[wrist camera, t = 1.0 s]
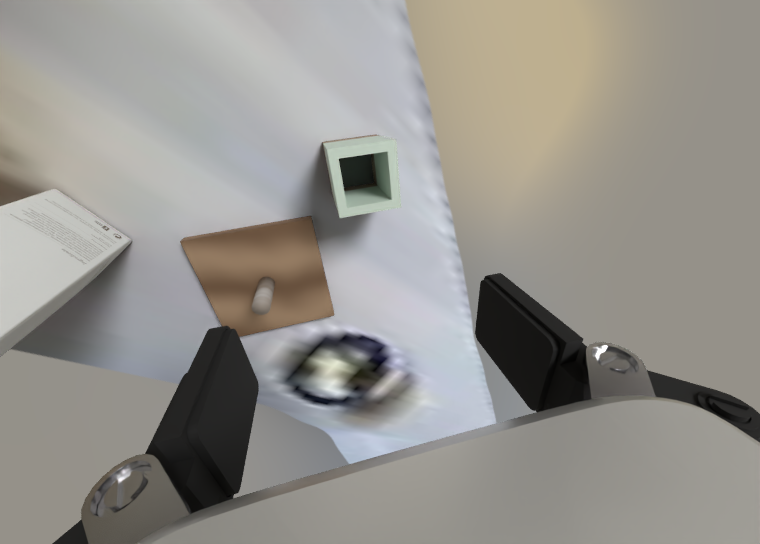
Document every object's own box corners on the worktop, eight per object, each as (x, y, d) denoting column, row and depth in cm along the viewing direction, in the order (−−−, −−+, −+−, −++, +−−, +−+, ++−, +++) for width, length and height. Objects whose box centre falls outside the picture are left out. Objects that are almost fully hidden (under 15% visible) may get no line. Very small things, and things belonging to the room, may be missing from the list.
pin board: (184, 237, 27) (158, 263, 22) (311, 215, 29) (311, 235, 24) (230, 333, 33) (218, 369, 28) (333, 310, 35) (337, 340, 30)
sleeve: (322, 142, 26) (326, 149, 20) (375, 134, 26) (396, 139, 20) (332, 196, 28) (339, 218, 22) (381, 188, 29) (401, 207, 23)
